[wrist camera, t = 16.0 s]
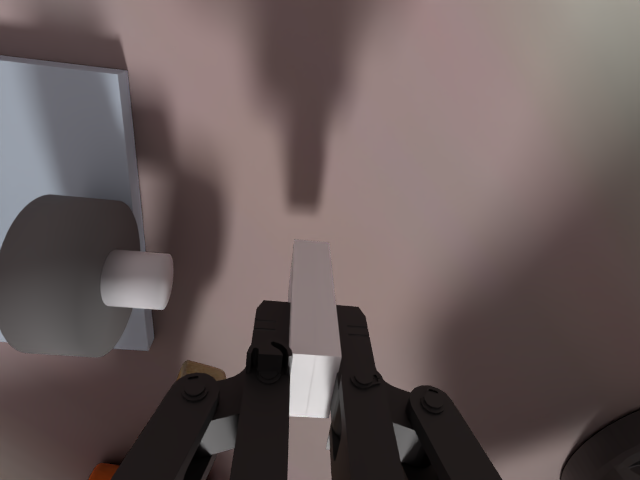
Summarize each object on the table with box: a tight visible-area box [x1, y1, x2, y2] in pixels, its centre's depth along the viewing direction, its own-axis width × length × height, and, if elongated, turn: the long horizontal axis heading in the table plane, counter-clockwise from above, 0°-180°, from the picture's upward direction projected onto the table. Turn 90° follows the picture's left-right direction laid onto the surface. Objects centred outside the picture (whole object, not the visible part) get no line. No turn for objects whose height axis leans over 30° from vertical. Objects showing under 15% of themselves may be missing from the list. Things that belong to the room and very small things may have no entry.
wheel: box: [0, 194, 174, 357], centre depth 16 cm, size 4×6×6 cm
